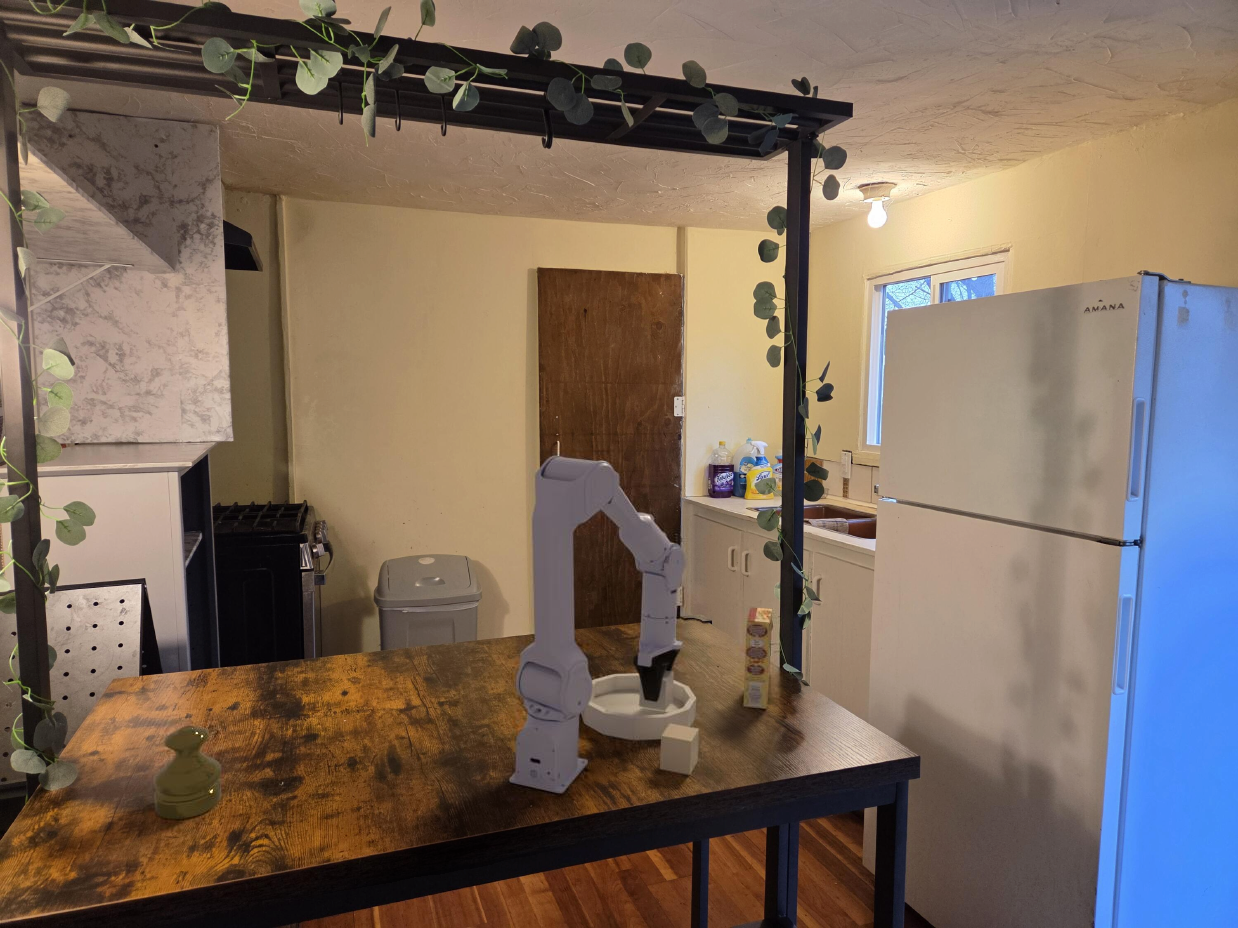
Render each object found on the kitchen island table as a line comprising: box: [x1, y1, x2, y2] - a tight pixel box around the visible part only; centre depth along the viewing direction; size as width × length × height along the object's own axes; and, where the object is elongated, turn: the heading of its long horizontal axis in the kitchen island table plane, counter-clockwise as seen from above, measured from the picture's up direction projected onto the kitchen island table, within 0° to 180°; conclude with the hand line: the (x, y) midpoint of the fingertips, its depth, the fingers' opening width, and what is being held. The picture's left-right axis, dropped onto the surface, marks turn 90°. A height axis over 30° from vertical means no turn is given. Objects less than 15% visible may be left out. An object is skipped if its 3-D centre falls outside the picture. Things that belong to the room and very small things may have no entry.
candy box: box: [743, 607, 773, 710], centre depth 137 cm, size 9×4×15 cm, turn 167°
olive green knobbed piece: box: [153, 725, 223, 820], centre depth 98 cm, size 7×7×10 cm
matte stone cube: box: [639, 670, 675, 711], centre depth 128 cm, size 4×4×5 cm
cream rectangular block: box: [659, 724, 700, 776], centre depth 113 cm, size 4×4×5 cm
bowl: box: [580, 672, 697, 741], centre depth 130 cm, size 18×18×4 cm
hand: (655, 694), depth 128 cm, fingers closed on matte stone cube, 4 cm apart
